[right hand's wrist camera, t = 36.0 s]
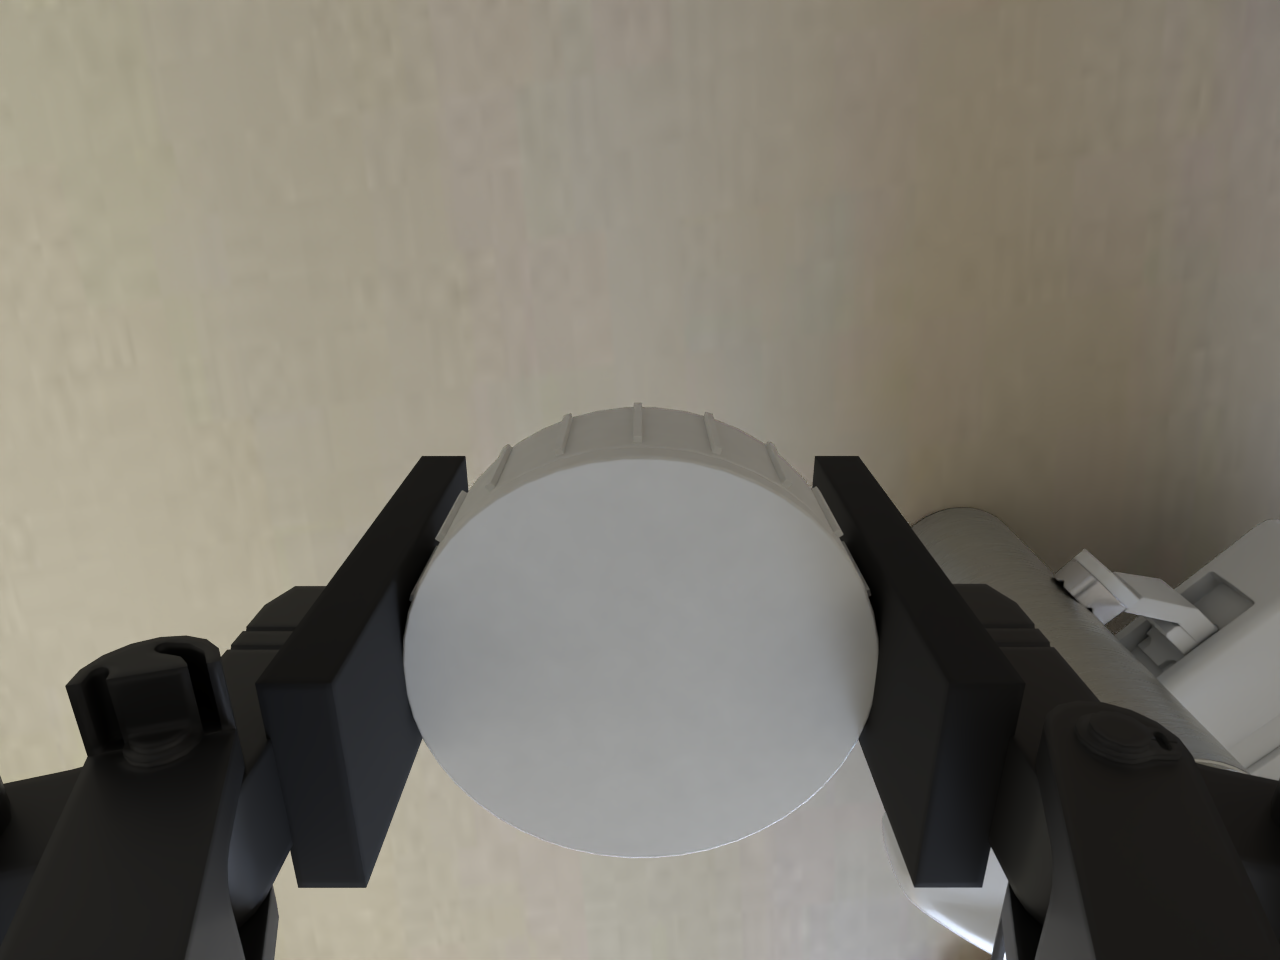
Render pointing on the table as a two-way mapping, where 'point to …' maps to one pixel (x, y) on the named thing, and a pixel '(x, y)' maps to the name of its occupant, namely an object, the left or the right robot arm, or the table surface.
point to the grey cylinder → (1061, 622)
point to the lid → (640, 636)
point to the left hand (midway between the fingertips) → (998, 632)
